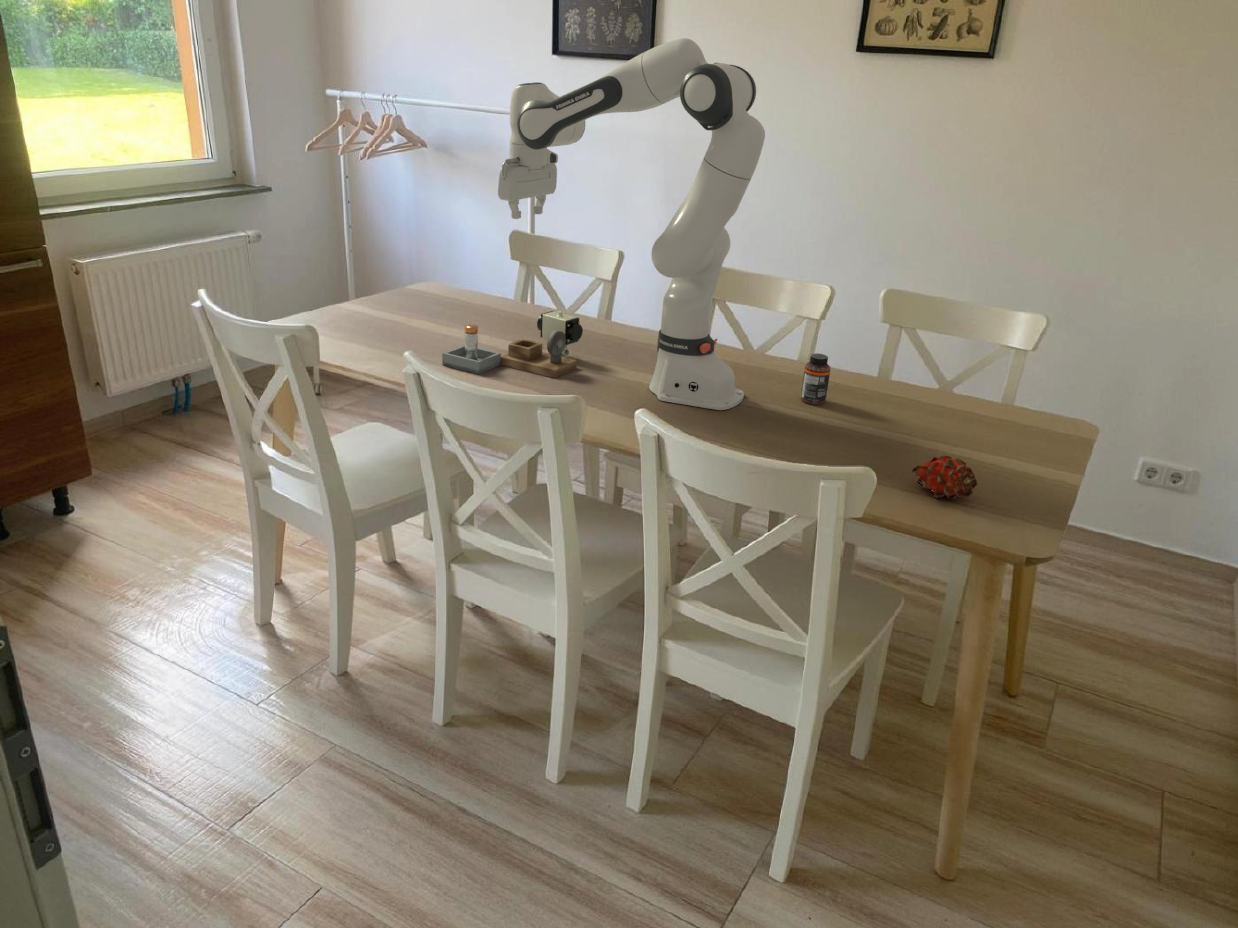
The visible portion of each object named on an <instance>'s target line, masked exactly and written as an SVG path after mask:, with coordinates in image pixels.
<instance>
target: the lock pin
mask: <svg viewBox="0 0 1238 928" xmlns="http://www.w3.org/2000/svg"><path fill="white" fill-rule="evenodd" d="M464 345H465V358H469V359H473V360H477V361H478V348H479V326H478V325H476V324H466V325H464Z"/></svg>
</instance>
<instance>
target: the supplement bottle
mask: <svg viewBox="0 0 1238 928" xmlns="http://www.w3.org/2000/svg"><path fill="white" fill-rule="evenodd" d="M828 359H829V357H828V355H826V354H823V353H812V354H811V355H810V358H809V362H806V364H805V366H804V372H803V378H802V384H801V392H800V400H801V401H802V402H803V403H804V404H808V405H812V406H813V405H814V406H820V405H823V404H825V403H826V400H827V395H828V387H829V381H830V375H831V367H830V365H829V364H828Z"/></svg>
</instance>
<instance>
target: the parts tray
mask: <svg viewBox="0 0 1238 928" xmlns="http://www.w3.org/2000/svg"><path fill="white" fill-rule="evenodd" d="M441 354H442V355H441V356H442V359H441V361H442V362H441V363H442V365H443V366H446V367H449V368H454V369H457V370H461V371H466V372H468V373H469V372H470V373H474V374H477V375H480V374H483V373H484V372H487V371H490V370H492V369H494V368H497V367H498V366H502V365H501V357H502V355H501V354H502V353H501V352H497V351H492V350H489V349H484V348H481V347H478V361H477V360H473V359H469V358H465V344H463V345H460V346H458V347H456V348H452V349H451V350H447V351H445V352H442V353H441Z"/></svg>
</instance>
